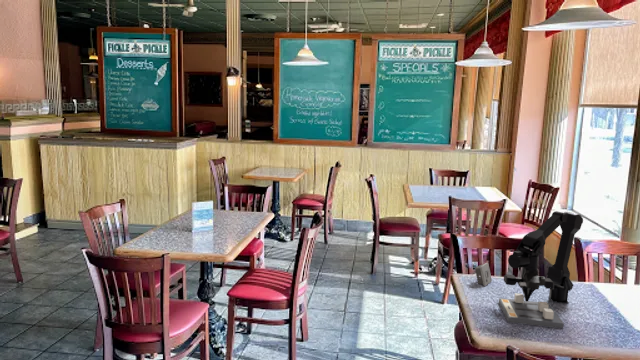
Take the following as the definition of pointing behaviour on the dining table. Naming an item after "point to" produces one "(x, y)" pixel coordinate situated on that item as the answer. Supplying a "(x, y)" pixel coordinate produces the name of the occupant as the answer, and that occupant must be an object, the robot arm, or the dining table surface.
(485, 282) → the electrical switch
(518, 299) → the beige cube
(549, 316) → the tab
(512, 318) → the switch panel
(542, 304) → the tab
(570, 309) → the dining table surface
